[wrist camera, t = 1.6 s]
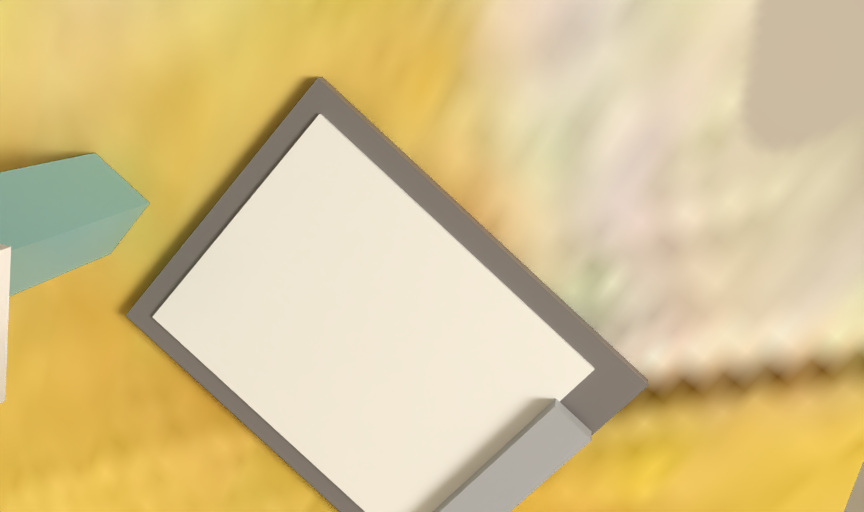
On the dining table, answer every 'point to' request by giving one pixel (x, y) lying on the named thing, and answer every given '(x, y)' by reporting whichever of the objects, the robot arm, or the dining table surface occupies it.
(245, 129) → the dining table surface
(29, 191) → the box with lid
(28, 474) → the dining table surface
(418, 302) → the clipboard
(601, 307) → the dining table surface
